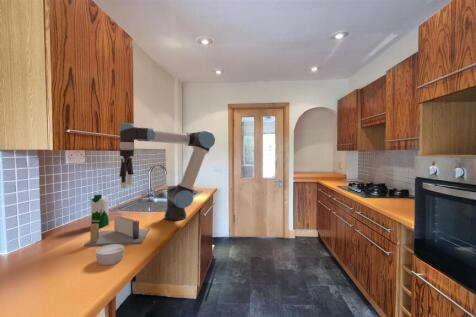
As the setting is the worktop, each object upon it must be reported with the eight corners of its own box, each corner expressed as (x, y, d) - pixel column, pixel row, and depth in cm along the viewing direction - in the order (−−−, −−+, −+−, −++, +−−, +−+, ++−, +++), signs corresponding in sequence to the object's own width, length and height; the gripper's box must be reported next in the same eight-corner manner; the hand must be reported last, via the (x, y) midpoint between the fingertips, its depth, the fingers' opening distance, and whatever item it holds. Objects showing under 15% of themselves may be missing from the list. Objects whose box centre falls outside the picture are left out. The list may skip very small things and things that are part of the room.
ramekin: (113, 268, 99) (113, 255, 99) (88, 265, 101) (88, 253, 101) (129, 256, 110) (129, 244, 110) (107, 254, 112) (107, 243, 112)
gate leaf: (135, 236, 132) (135, 219, 132) (132, 237, 130) (132, 220, 130) (117, 229, 142) (117, 214, 142) (114, 230, 141) (114, 215, 141)
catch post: (98, 242, 126) (98, 223, 125) (96, 244, 123) (96, 224, 123) (92, 243, 125) (92, 223, 125) (90, 244, 123) (90, 225, 123)
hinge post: (139, 238, 132) (139, 220, 132) (138, 240, 129) (138, 222, 129) (133, 239, 131) (133, 220, 131) (132, 241, 128) (132, 222, 128)
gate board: (149, 230, 146) (149, 228, 146) (141, 243, 125) (141, 241, 125) (100, 232, 142) (100, 230, 141) (84, 246, 121) (84, 244, 121)
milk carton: (88, 227, 150) (88, 195, 149) (98, 223, 159) (98, 193, 158) (102, 228, 149) (101, 195, 148) (111, 224, 158) (111, 193, 158)
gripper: (126, 149, 155) (125, 184, 156) (113, 149, 132) (113, 189, 133) (138, 149, 157) (138, 184, 157) (128, 149, 133) (127, 189, 134)
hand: (126, 186), depth 145 cm, fingers open, 11 cm apart
